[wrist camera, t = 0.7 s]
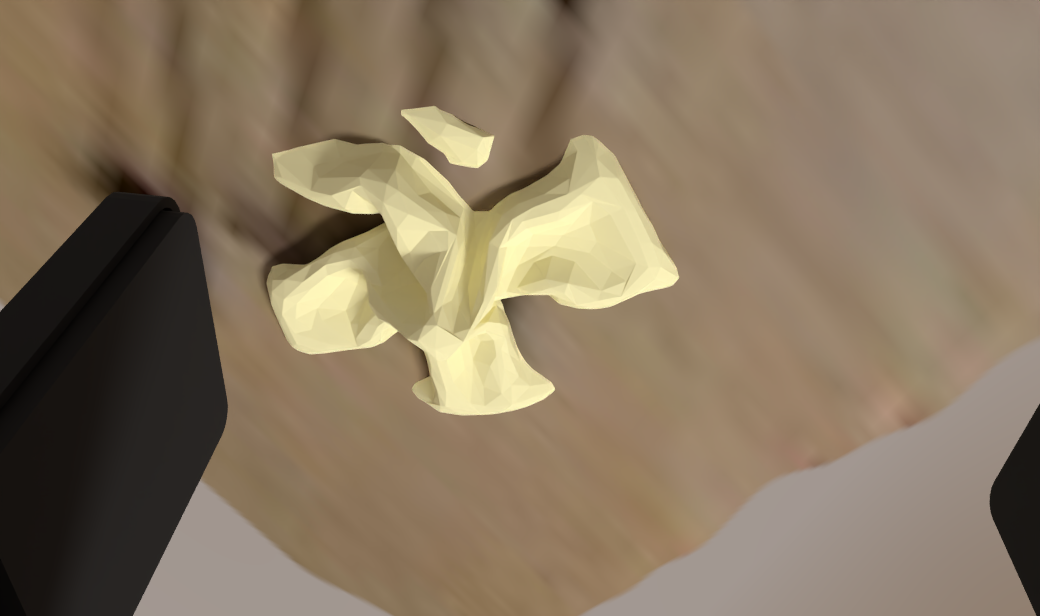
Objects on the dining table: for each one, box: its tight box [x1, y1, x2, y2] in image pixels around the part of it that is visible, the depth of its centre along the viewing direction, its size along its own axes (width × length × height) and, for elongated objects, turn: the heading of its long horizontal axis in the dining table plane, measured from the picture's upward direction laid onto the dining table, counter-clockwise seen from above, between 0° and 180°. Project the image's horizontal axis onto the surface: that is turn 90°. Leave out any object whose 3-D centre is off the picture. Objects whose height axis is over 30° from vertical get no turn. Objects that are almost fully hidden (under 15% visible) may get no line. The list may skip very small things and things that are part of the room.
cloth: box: [266, 106, 679, 415], centre depth 40 cm, size 22×19×6 cm
